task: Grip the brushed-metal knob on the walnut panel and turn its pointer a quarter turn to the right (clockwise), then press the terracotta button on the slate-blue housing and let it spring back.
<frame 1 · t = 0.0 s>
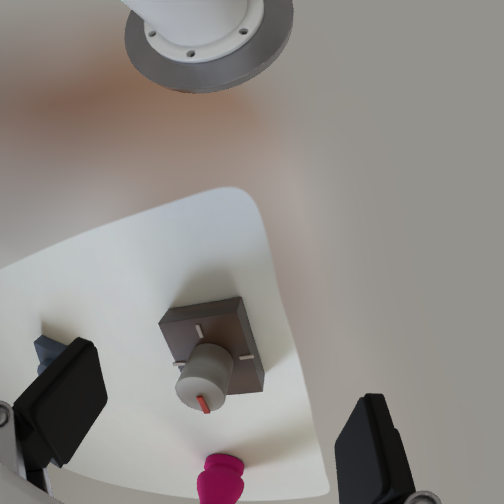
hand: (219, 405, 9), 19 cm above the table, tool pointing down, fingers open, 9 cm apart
pepper mill: (225, 462, 38), on the table
dial knob: (205, 378, 25), point 6 cm above the table, hinge at 0.0°
button box: (66, 368, 35), on the table
dial panel: (217, 343, 30), on the table
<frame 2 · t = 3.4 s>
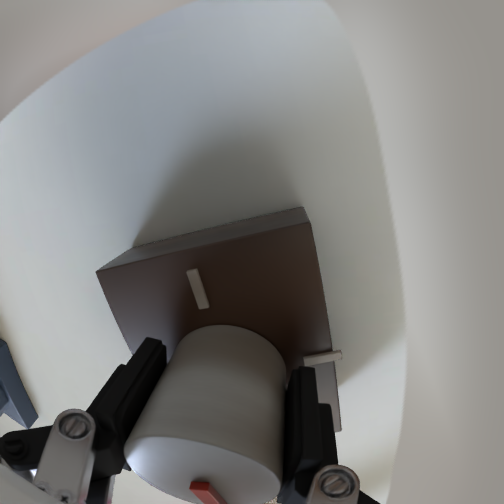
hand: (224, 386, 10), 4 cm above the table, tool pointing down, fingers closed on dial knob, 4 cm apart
dial knob: (215, 422, 8), point 6 cm above the table, hinge at 0.0°, touching gripper
dial panel: (239, 330, 14), on the table
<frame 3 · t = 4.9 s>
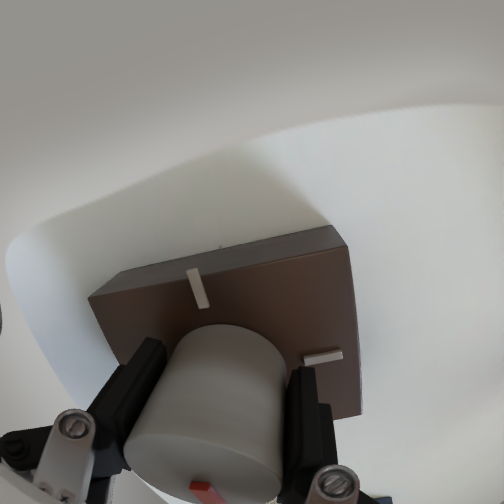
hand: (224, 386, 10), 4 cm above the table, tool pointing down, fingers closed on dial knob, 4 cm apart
dial knob: (215, 421, 8), point 6 cm above the table, hinge at -91.1°, touching gripper
dial panel: (239, 329, 14), on the table
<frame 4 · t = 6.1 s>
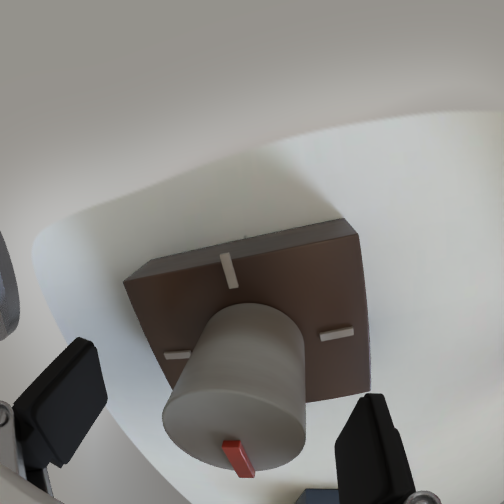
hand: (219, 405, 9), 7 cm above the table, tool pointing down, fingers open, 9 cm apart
dial knob: (243, 389, 10), point 6 cm above the table, hinge at -91.5°
button box: (340, 502, 21), on the table
dial panel: (260, 313, 15), on the table
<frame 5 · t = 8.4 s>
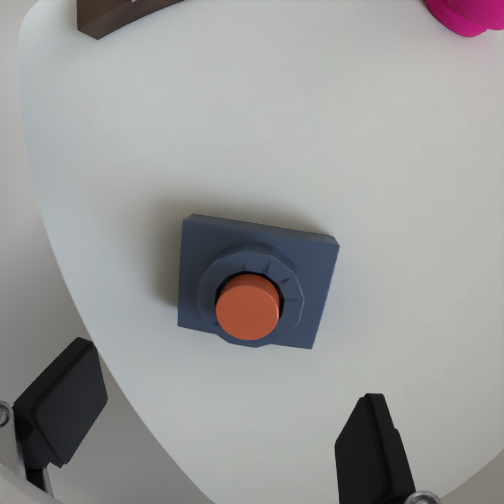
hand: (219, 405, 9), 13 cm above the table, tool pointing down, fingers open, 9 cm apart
pepper mill: (451, 7, 13), on the table
button: (248, 307, 17), point 4 cm above the table, slide at 0.1 cm
button box: (254, 277, 21), on the table
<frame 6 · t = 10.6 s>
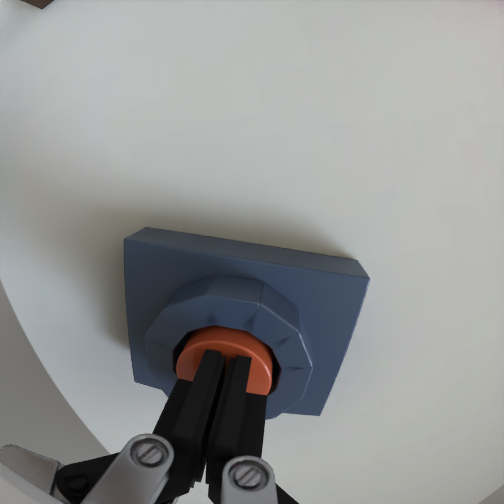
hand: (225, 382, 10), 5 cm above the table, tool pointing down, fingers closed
button: (226, 365, 11), point 4 cm above the table, slide at -0.8 cm, touching gripper
button box: (238, 319, 14), on the table
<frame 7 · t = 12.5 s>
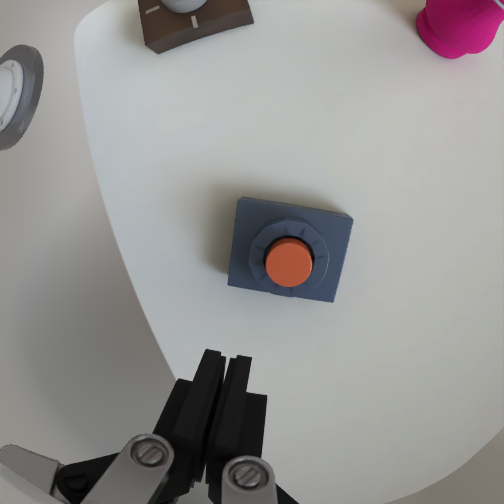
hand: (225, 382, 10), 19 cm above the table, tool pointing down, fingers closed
pepper mill: (440, 34, 19), on the table
button: (288, 262, 23), point 4 cm above the table, slide at 0.1 cm
button box: (288, 246, 28), on the table
dial panel: (196, 9, 21), on the table
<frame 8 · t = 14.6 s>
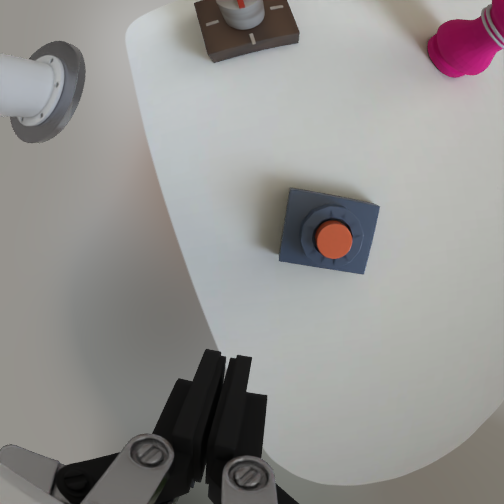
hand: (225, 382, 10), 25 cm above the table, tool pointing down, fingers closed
pepper mill: (446, 56, 24), on the table
dial knob: (241, 3, 21), point 6 cm above the table, hinge at -91.5°
button: (333, 239, 29), point 4 cm above the table, slide at 0.1 cm
button box: (327, 229, 33), on the table
dial panel: (247, 25, 27), on the table
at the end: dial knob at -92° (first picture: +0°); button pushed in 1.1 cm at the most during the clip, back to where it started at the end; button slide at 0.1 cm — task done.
